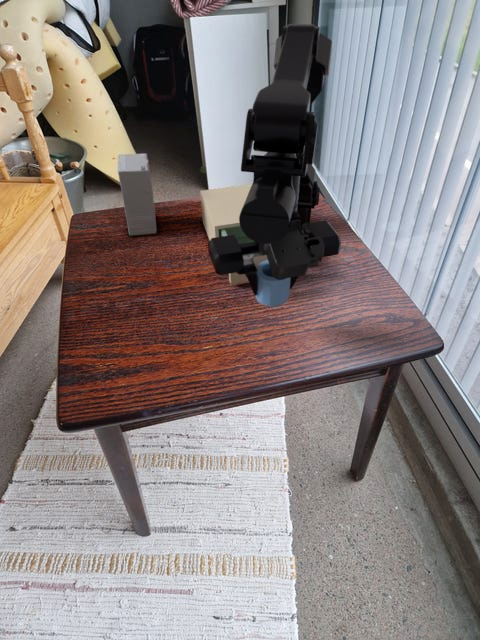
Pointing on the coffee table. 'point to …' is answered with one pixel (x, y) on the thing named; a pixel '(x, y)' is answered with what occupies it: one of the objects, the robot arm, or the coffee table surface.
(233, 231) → the drawer
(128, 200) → the cosmetic box
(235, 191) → the cabinet
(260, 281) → the jar
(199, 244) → the coffee table surface
